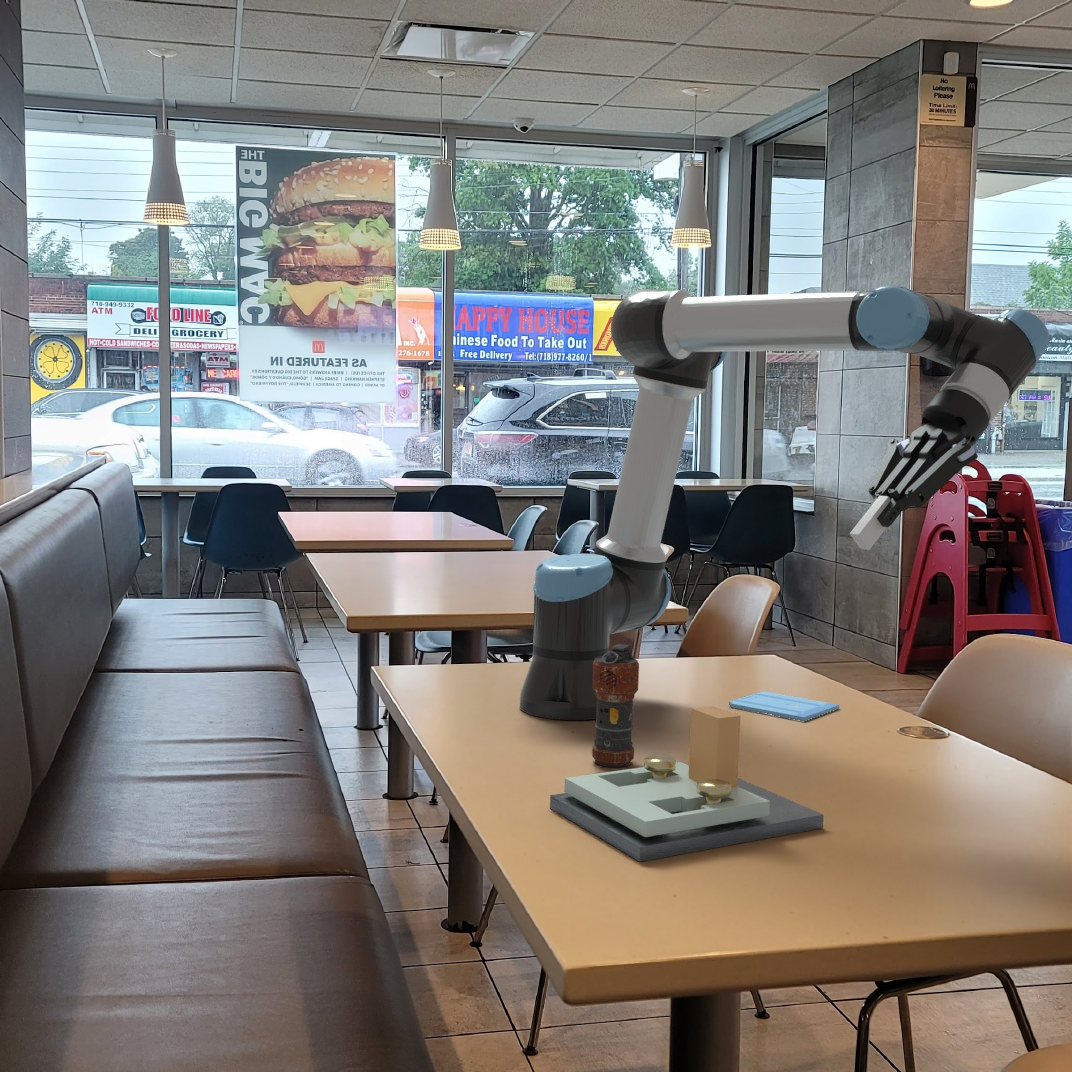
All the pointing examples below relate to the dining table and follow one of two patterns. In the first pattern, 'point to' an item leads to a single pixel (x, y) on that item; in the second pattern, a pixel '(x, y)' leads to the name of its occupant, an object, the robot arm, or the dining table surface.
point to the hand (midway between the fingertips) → (859, 541)
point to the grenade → (614, 706)
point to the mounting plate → (779, 822)
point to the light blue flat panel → (783, 705)
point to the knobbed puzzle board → (677, 784)
